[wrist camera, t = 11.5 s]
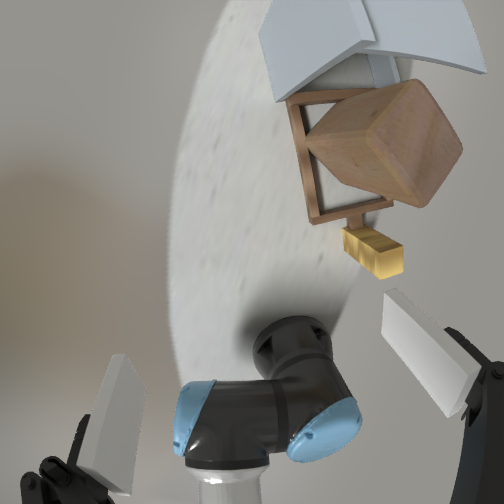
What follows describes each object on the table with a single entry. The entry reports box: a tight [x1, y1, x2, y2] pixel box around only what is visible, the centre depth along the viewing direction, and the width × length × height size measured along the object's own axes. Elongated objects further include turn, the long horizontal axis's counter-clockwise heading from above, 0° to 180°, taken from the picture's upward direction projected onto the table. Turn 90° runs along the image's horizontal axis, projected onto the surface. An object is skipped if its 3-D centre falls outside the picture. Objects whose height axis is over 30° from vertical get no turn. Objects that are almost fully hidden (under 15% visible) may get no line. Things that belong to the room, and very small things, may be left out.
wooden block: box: [305, 79, 463, 208], centre depth 30 cm, size 10×10×20 cm
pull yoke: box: [285, 88, 403, 280], centre depth 36 cm, size 26×15×12 cm, turn 13°
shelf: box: [259, 0, 487, 102], centre depth 23 cm, size 12×19×26 cm, turn 102°
